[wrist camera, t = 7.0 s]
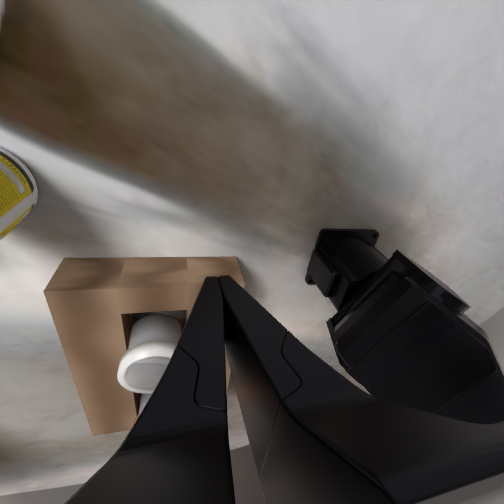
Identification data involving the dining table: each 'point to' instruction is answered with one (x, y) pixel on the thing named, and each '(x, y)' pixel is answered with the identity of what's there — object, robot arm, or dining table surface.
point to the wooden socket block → (119, 320)
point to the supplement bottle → (15, 192)
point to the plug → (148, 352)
